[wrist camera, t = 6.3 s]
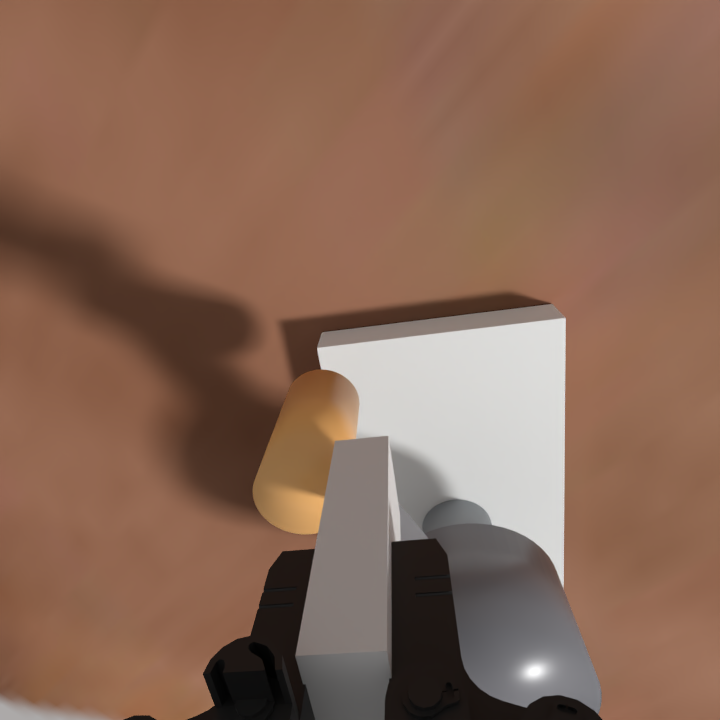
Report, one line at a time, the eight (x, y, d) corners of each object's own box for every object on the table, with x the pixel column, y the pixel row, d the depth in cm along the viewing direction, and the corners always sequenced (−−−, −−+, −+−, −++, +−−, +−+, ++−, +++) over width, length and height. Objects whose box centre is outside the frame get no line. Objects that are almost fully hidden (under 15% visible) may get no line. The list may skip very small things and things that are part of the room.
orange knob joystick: (581, 589, 25) (639, 727, 19) (438, 651, 27) (452, 792, 21) (381, 321, 20) (379, 399, 14) (226, 424, 22) (170, 527, 16)
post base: (553, 633, 33) (586, 734, 28) (380, 644, 34) (379, 742, 29) (552, 303, 24) (599, 354, 19) (322, 332, 26) (304, 387, 20)
